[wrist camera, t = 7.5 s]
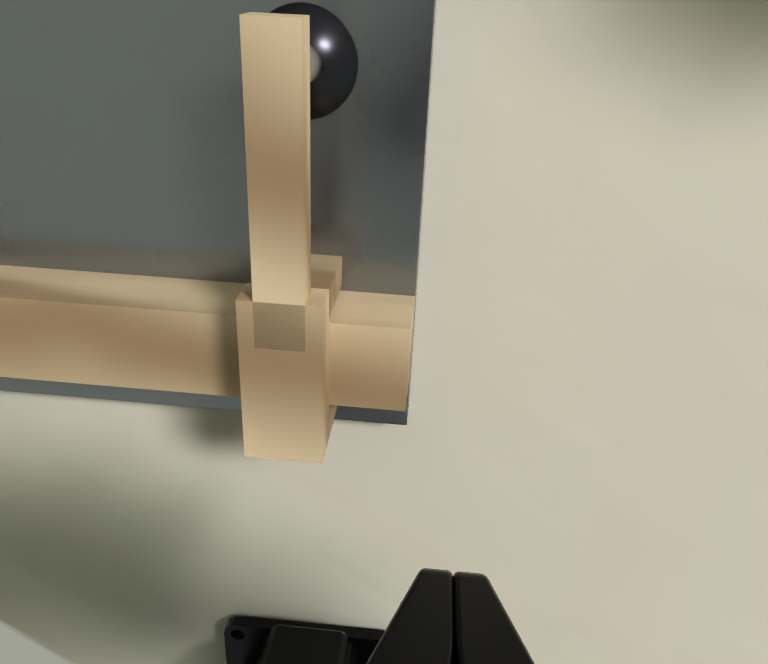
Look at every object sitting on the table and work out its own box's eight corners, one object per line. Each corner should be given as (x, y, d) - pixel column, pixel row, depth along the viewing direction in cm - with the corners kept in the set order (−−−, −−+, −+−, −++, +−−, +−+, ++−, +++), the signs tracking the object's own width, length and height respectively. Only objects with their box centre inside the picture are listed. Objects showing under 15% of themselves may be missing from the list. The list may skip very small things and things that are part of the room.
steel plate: (408, 406, 22) (406, 426, 21) (-261, 349, 24) (-291, 366, 23) (452, -241, 15) (451, -255, 14) (-519, -269, 16) (-580, -284, 15)
